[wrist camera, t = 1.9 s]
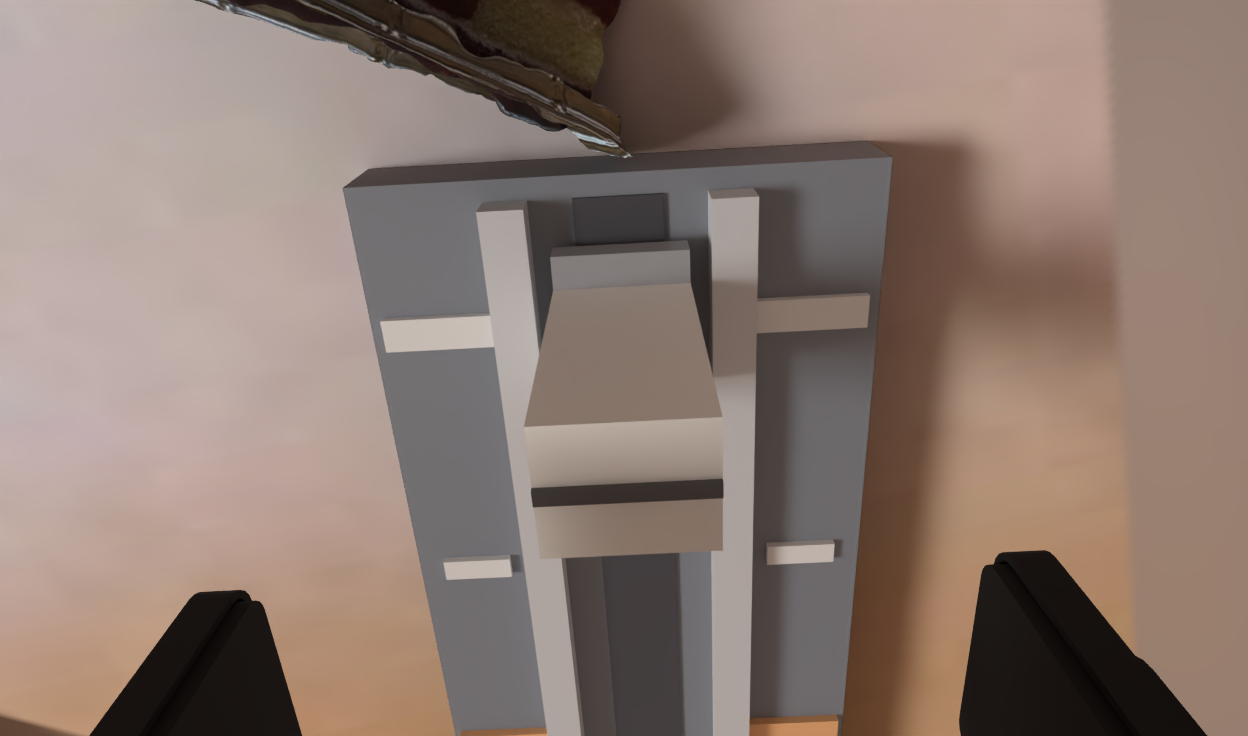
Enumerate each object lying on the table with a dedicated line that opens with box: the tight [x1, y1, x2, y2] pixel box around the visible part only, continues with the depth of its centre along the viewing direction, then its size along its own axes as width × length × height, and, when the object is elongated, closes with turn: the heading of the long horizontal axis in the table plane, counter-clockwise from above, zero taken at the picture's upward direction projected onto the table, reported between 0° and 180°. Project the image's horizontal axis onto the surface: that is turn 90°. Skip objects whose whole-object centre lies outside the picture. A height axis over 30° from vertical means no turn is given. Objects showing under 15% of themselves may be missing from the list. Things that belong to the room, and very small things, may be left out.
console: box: [343, 141, 893, 736], centre depth 23 cm, size 23×12×3 cm, turn 4°
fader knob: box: [524, 240, 724, 559], centre depth 16 cm, size 4×3×7 cm
